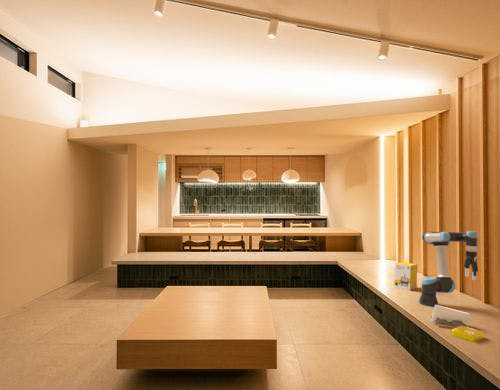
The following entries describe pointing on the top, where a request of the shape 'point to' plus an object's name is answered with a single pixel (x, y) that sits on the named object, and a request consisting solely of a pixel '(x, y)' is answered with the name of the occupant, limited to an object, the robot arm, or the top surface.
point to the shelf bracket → (449, 314)
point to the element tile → (468, 333)
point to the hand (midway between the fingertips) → (470, 278)
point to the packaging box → (405, 276)
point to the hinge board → (448, 323)
